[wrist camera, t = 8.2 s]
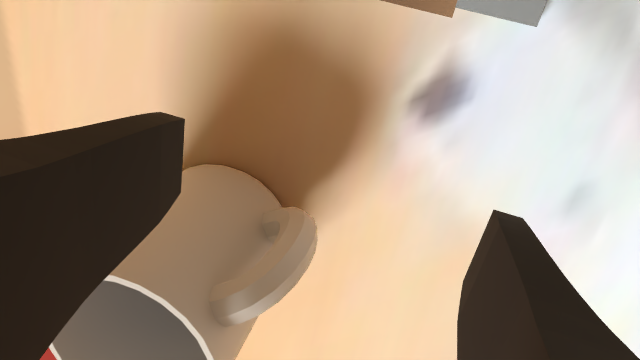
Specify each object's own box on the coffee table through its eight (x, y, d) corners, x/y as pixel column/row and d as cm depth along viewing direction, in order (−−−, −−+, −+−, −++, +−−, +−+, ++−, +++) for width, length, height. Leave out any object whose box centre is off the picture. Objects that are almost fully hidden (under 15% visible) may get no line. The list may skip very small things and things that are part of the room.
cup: (138, 183, 27) (3, 294, 19) (304, 120, 23) (215, 231, 15) (208, 291, 29) (112, 429, 22) (369, 252, 25) (320, 406, 17)
